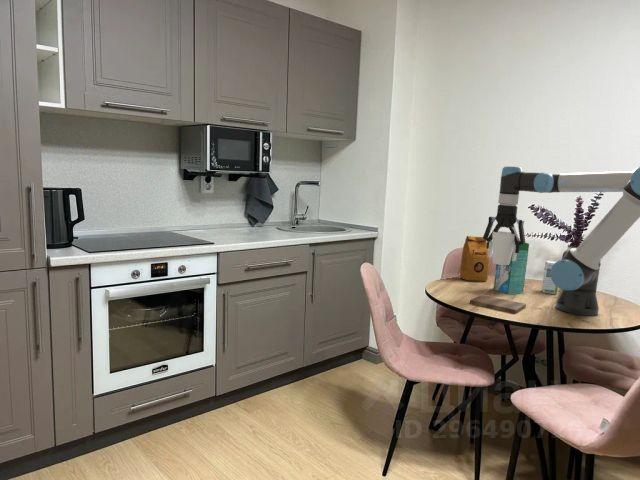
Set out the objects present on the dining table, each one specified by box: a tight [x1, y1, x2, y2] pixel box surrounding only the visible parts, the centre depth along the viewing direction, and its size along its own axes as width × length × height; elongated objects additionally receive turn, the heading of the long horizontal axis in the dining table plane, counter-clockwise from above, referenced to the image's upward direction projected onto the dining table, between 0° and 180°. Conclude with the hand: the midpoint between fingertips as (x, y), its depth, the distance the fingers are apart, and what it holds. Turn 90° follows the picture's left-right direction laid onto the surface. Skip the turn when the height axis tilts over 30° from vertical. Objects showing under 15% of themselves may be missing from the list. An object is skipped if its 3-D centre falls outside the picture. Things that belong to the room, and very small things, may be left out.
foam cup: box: [492, 230, 515, 265], centre depth 201 cm, size 10×9×13 cm
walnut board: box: [469, 294, 527, 315], centre depth 194 cm, size 18×13×2 cm
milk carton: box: [493, 237, 530, 295], centre depth 219 cm, size 9×9×25 cm
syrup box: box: [541, 260, 559, 295], centre depth 223 cm, size 6×6×14 cm
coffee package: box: [459, 235, 490, 282], centre depth 239 cm, size 10×12×22 cm
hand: (501, 258), depth 201 cm, fingers closed on foam cup, 9 cm apart
